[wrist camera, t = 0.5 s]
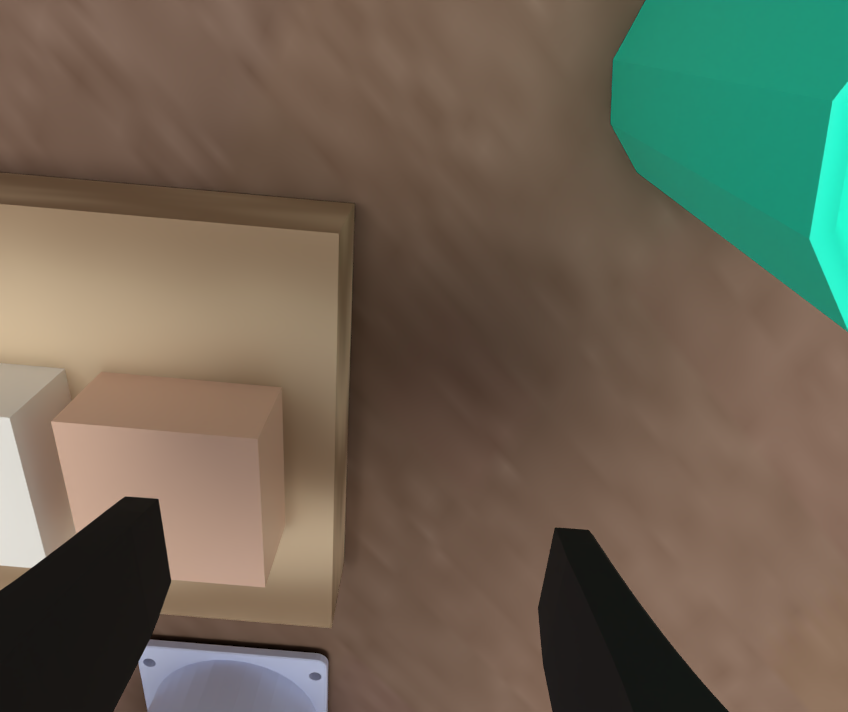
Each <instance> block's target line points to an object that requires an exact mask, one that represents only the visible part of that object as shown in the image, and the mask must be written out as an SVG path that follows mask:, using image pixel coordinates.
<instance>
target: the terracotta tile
mask: <svg viewBox="0 0 848 712" xmlns="http://www.w3.org/2000/svg"><path fill="white" fill-rule="evenodd" d="M51 424H52V428H53V433H54V437H55V442H56V446H57V450H58V455H59V459H60V464H61V468H62V473H63V477H64V481H65V486H66V490H67V495H68V499H69V504H70V508H71V512H72V517H73V521H74V526H75V530H76V534H77V533H78V532H79V531H81V530H82V529H83V528H84V527H86V526H87V525H88V524H90V523H91V522H92V521H93V520H95V519H96V518H97V517H98V516H100V515H101V514H102V513H104V512H105V511H106V510H108V509H109V508H110V507H111V506H113V505H114V504H115V503H117V502H118V501H120V500H121V499H122V498H124V497H125V496H127V497H141V498H155V499H159V505H160V511H161V518H162V524H163V531H164V537H165V543H166V550H167V556H168V563H169V569H170V576H171V580H180V581H192V582H204V583H216V584H228V585H240V586H252V587H264V588H265V586H266V583H267V580H268V577H269V574H270V571H271V568H272V565H273V562H274V559H275V556H276V553H277V550H278V546H279V543H280V540H281V537H282V534H283V531H284V528H285V488H284V450H283V412H282V387H274V386H262V385H250V384H239V383H227V382H215V381H204V380H192V379H180V378H169V377H157V376H145V375H134V374H122V373H110V372H100V373H99V374H98V375H97V376H96V377H95V378H94V379H93V380H92V381H91V382H90V383H89V384H88V385H87V386H86V387H85V388H84V389H83V390H82V391H81V392H80V393H79V394H78V395H77V396H76V397H75V398H74V399H73V400H72V401H71V402H70V403H69V404H68V405H67V406H66V407H65V408H64V409H63V410H62V411H61V412H60V413H59V414H58V415H57V416H56V417H55V418H54V419H53V420H52V421H51Z"/></svg>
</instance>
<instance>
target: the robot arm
mask: <svg viewBox="0 0 848 712" xmlns="http://www.w3.org/2000/svg"><path fill="white" fill-rule="evenodd" d="M170 584H171V576H170V569H169V563H168V556H167V550H166V543H165V537H164V531H163V524H162V518H161V511H160V505H159V499H155V498H141V497H127V496H125V497H124V498H122V499H121V500H120V501H118V502H117V503H115V504H114V505H113V506H111V507H110V508H109V509H108V510H106V511H105V512H104V513H102V514H101V515H100V516H98V517H97V518H96V519H95V520H93V521H92V522H91V523H90V524H88V525H87V526H86V527H84V528H83V529H82V530H81V531H79V532H78V533H77V534H75V535H74V536H73V537H72V538H70V539H69V540H68V541H66V542H65V543H64V544H62V545H61V546H60V547H59V548H57V549H56V550H55V551H53V552H52V553H51V554H49V555H48V556H47V557H45V558H44V559H43V560H41V561H40V562H39V563H37V564H36V565H35V566H33V567H32V568H31V569H29V570H28V571H27V572H25V573H24V574H23V575H21V576H20V577H19V578H17V579H16V580H14V581H13V582H12V583H10V584H9V585H7V586H6V587H4V588H3V589H2V590H0V712H113V711H114V709H115V707H116V705H117V703H118V701H119V699H120V697H121V695H122V693H123V691H124V689H125V688H126V686H127V684H128V682H129V680H130V678H131V676H132V674H133V672H134V670H135V668H136V666H137V664H138V663H139V669H140V674H141V679H142V685H143V690H144V695H145V700H146V706H147V711H148V712H328V659H327V658H326V657H325V656H324V655H322V654H319V653H309V652H297V651H285V650H273V649H261V648H249V647H237V646H225V645H213V644H201V643H188V642H176V641H164V640H152V639H150V638H151V636H152V633H153V631H154V628H155V625H156V623H157V620H158V618H159V615H160V612H161V610H162V607H163V604H164V601H165V598H166V595H167V593H168V590H169V587H170ZM538 613H539V625H540V637H541V647H542V657H543V666H544V671H545V676H546V681H547V686H548V691H549V696H550V701H551V706H552V711H553V712H729V711H728V710H727V709H726V708H725V707H724V706H723V705H722V704H721V703H720V702H719V700H718V699H717V698H716V697H715V696H714V695H713V694H712V693H711V692H710V690H709V689H708V688H707V687H706V686H705V685H704V683H703V682H702V681H701V680H700V679H699V678H698V677H697V675H696V674H695V673H694V672H693V671H692V669H691V668H690V667H689V666H688V665H687V663H686V662H685V661H684V660H683V659H682V657H681V656H680V655H679V654H678V652H677V651H676V650H675V649H674V647H673V646H672V645H671V644H670V642H669V641H668V640H667V639H666V637H665V636H664V635H663V633H662V632H661V631H660V630H659V628H658V627H657V626H656V624H655V623H654V622H653V620H652V619H651V618H650V616H649V615H648V614H647V612H646V611H645V610H644V608H643V607H642V606H641V604H640V603H639V602H638V600H637V599H636V597H635V596H634V595H633V593H632V592H631V590H630V589H629V588H628V586H627V585H626V583H625V582H624V580H623V579H622V578H621V576H620V575H619V573H618V572H617V570H616V569H615V567H614V566H613V564H612V563H611V562H610V560H609V559H608V557H607V556H606V554H605V553H604V551H603V550H602V548H601V547H600V545H599V544H598V542H597V541H596V539H595V538H594V536H593V535H592V534H591V532H590V531H589V530H581V529H567V528H555V530H554V534H553V539H552V544H551V549H550V554H549V558H548V563H547V568H546V573H545V578H544V582H543V587H542V592H541V597H540V601H539V606H538Z"/></svg>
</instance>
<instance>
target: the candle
mask: <svg viewBox="0 0 848 712" xmlns="http://www.w3.org/2000/svg"><path fill="white" fill-rule="evenodd" d="M610 124H611V126H612V127H613V129H614V131H615V133H616V135H617V137H618V138H619V140H620V142H621V144H622V146H623V148H624V149H625V151H626V153H627V155H628V157H629V159H630V161H631V162H632V164H633V166H634V168H635V170H636V172H637V173H639V174H640V175H641V176H643V177H644V178H645V179H646V180H648V181H649V182H650V183H652V184H653V185H654V186H656V187H657V188H658V189H660V190H661V191H662V192H664V193H665V194H666V195H668V196H669V197H670V198H672V199H673V200H674V201H676V202H677V203H678V204H680V205H681V206H682V207H683V208H685V209H686V210H687V211H689V212H690V213H691V214H693V215H694V216H695V217H697V218H698V219H699V220H701V221H702V222H703V223H705V224H706V225H707V226H709V227H710V228H711V229H713V230H714V231H715V232H717V233H718V234H719V235H721V236H722V237H723V238H724V239H726V240H727V241H728V242H730V243H731V244H732V245H734V246H735V247H736V248H738V249H739V250H740V251H742V252H743V253H744V254H746V255H747V256H748V257H750V258H751V259H752V260H754V261H755V262H756V263H758V264H759V265H760V266H762V267H763V268H764V269H765V270H767V271H768V272H769V273H771V274H772V275H773V276H775V277H776V278H777V279H779V280H780V281H781V282H783V283H784V284H785V285H787V286H788V287H789V288H791V289H792V290H793V291H795V292H796V293H797V294H799V295H800V296H801V297H802V298H804V299H805V300H806V301H808V302H809V303H810V304H812V305H813V306H814V307H816V308H817V309H818V310H820V311H821V312H822V313H824V314H825V315H826V316H828V317H829V318H830V319H832V320H833V321H834V322H836V323H837V324H838V325H840V326H841V327H842V328H843V329H845V330H846V331H847V332H848V0H646V1H645V2H644V4H643V6H642V8H641V10H640V11H639V13H638V15H637V17H636V19H635V21H634V22H633V24H632V26H631V28H630V30H629V32H628V33H627V35H626V37H625V39H624V41H623V43H622V44H621V46H620V48H619V50H618V52H617V54H616V55H615V57H614V59H613V73H612V97H611V122H610Z"/></svg>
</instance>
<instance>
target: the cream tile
mask: <svg viewBox="0 0 848 712" xmlns="http://www.w3.org/2000/svg"><path fill="white" fill-rule="evenodd" d="M70 402H71V396H70V391H69V386H68V382H67V377H66V372H65V369H64V368H52V367H40V366H29V365H17V364H5V363H0V565H1V566H13V567H25V568H32V567H33V566H35V565H36V564H37V563H39V562H40V561H41V560H43V559H44V558H45V557H47V556H48V555H49V554H51V553H52V552H53V551H55V550H56V549H57V548H59V547H60V546H61V545H62V544H64V543H65V542H66V541H68V540H69V539H70V538H72V537H73V536H74V535H75V533H76V530H75V526H74V521H73V517H72V512H71V508H70V504H69V499H68V495H67V490H66V486H65V481H64V477H63V473H62V468H61V464H60V459H59V455H58V450H57V446H56V442H55V437H54V433H53V428H52V424H51V421H52V420H53V419H54V418H55V417H56V416H57V415H58V414H59V413H60V412H61V411H62V410H63V409H64V408H65V407H66V406H67V405H68V404H69V403H70Z"/></svg>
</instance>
